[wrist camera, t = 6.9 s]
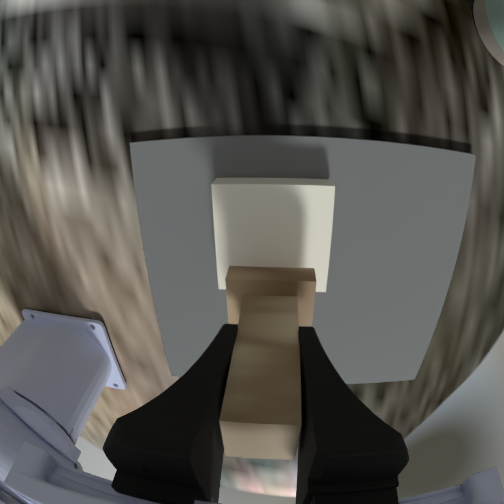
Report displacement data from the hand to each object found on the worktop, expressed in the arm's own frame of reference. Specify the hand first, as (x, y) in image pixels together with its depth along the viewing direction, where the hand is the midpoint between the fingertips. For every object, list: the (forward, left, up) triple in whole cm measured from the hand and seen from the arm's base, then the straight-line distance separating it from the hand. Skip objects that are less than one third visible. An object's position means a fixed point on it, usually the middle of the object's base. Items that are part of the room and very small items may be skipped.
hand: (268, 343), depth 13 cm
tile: (0, -1, -6) cm, 6 cm away
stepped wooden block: (0, 0, -3) cm, 3 cm away
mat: (+2, -1, -7) cm, 8 cm away
